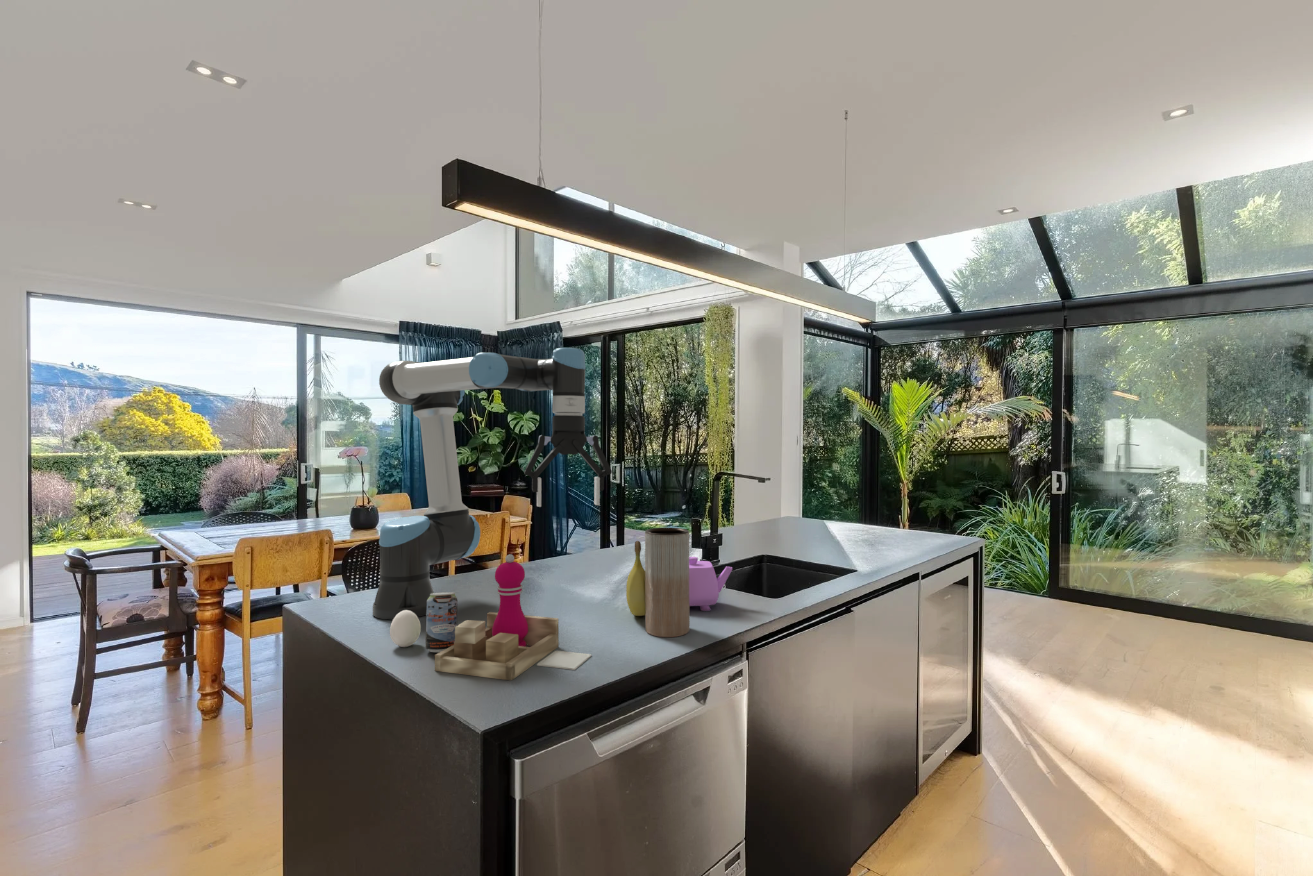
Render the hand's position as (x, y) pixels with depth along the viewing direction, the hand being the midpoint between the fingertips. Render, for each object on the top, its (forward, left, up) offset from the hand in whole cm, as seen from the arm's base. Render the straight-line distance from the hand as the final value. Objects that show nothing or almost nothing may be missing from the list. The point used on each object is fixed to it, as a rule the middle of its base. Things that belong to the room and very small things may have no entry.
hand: (568, 505), depth 149 cm
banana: (+14, +12, -28) cm, 33 cm away
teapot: (+24, +24, -28) cm, 44 cm away
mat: (+10, -22, -28) cm, 37 cm away
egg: (-26, -24, -28) cm, 45 cm away
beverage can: (-17, -24, -28) cm, 41 cm away
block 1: (-7, -29, -23) cm, 38 cm away
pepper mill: (-3, -20, -28) cm, 35 cm away
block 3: (0, -29, -28) cm, 40 cm away
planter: (+24, +2, -28) cm, 37 cm away
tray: (-3, -24, -28) cm, 37 cm away
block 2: (-7, -29, -28) cm, 41 cm away
